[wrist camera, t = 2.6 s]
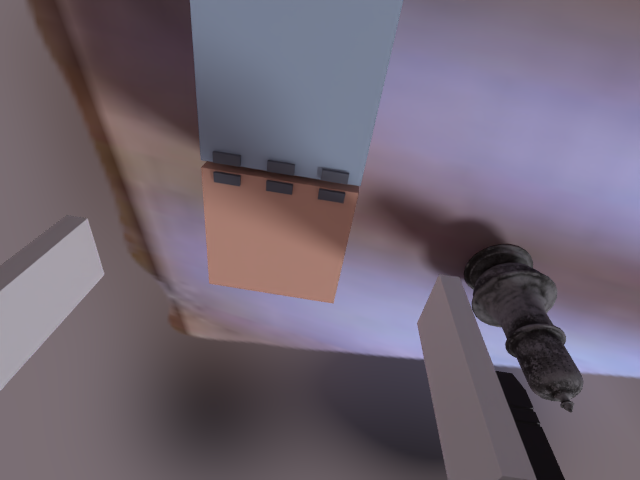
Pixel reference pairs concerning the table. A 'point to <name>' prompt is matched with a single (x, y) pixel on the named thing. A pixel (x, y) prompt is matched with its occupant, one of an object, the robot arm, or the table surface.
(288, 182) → the stub
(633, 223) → the table surface
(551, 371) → the dark rounded upright piece
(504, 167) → the table surface
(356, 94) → the gray rectangular box
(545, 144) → the table surface
